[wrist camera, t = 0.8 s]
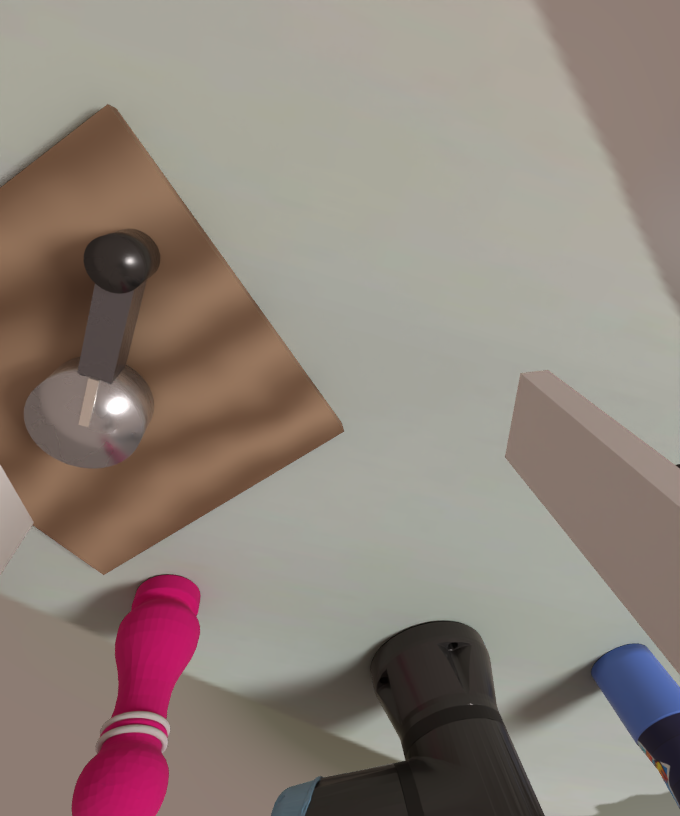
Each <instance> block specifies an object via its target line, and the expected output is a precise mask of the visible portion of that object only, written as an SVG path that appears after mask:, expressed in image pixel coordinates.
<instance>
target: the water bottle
mask: <svg viewBox="0 0 680 816" xmlns="http://www.w3.org/2000/svg"><path fill="white" fill-rule="evenodd" d="M591 675H592V677H593V678H594V680H595V681H596V683H597V685H598V686H599V688H600V689H601V691H602V692H603V694H604V695H605V697H606V698H607V700H608V701H609V703H610V704H611V706H612V707H613V709H614V710H615V712H616V713H617V715H618V716H619V718H620V720H621V721H622V723H623V724H624V726H625V727H626V729H627V730H628V732H629V733H630V735H631V736H632V738H633V739H634V741H635V742H636V744H637V745H638V746H639V747H640V748H641V749H642V751H643V752H644V753H645V754H646V756H647V757H648V758H649V759H650V761H651V762H652V763H653V764H654V766H655V767H656V768H657V769H658V771H659V773H660V774H661V776H662V778H663V780H664V782H665V783H666V785H667V787H668V789H669V791H670V792H671V794H672V796H673V798H674V800H675V801H676V803H677V805H678V807H679V808H680V687H679V686H678V685H677V683H676V682H675V681H674V680H673V678H672V677H671V676H670V675H669V674H668V672H667V671H666V670H665V669H664V667H663V666H662V665H661V664H660V663H659V661H658V660H657V659H656V658H655V656H654V655H653V654H652V653H651V652H650V650H649V649H648V648H647V647H646V646H644V645H642V644H628V645H624V646H620V647H618V648H615V649H613V650H611V651H609V652H608V653H606V654H605V655H603V656H602V657H601V658H600V659H599V660H597V662H596V663H595V664H594V666H593V668H592V671H591Z"/></svg>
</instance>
